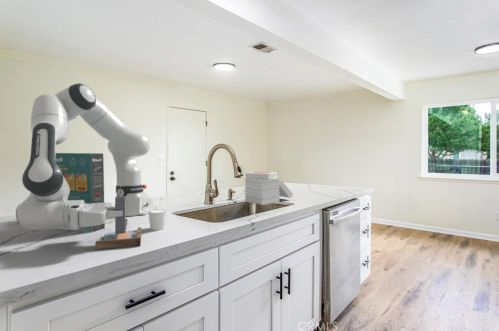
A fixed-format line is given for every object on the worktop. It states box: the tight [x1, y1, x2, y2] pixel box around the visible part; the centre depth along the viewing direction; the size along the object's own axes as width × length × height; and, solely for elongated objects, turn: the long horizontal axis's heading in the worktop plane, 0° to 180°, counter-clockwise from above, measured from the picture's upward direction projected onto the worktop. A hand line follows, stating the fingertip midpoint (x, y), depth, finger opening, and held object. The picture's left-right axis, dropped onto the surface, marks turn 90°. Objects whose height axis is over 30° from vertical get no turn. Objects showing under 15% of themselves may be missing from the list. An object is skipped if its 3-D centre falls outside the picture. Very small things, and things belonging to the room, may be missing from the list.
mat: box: [98, 229, 143, 251], centre depth 104 cm, size 19×12×1 cm, turn 19°
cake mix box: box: [55, 152, 106, 233], centre depth 119 cm, size 22×6×30 cm, turn 72°
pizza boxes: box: [244, 171, 294, 206], centre depth 186 cm, size 19×30×18 cm, turn 133°
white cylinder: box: [148, 209, 167, 231], centre depth 119 cm, size 7×7×7 cm
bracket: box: [114, 195, 128, 234], centre depth 105 cm, size 13×3×12 cm, turn 19°
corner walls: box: [94, 227, 142, 251], centre depth 102 cm, size 15×13×2 cm
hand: (123, 211), depth 101 cm, fingers closed on bracket, 4 cm apart
